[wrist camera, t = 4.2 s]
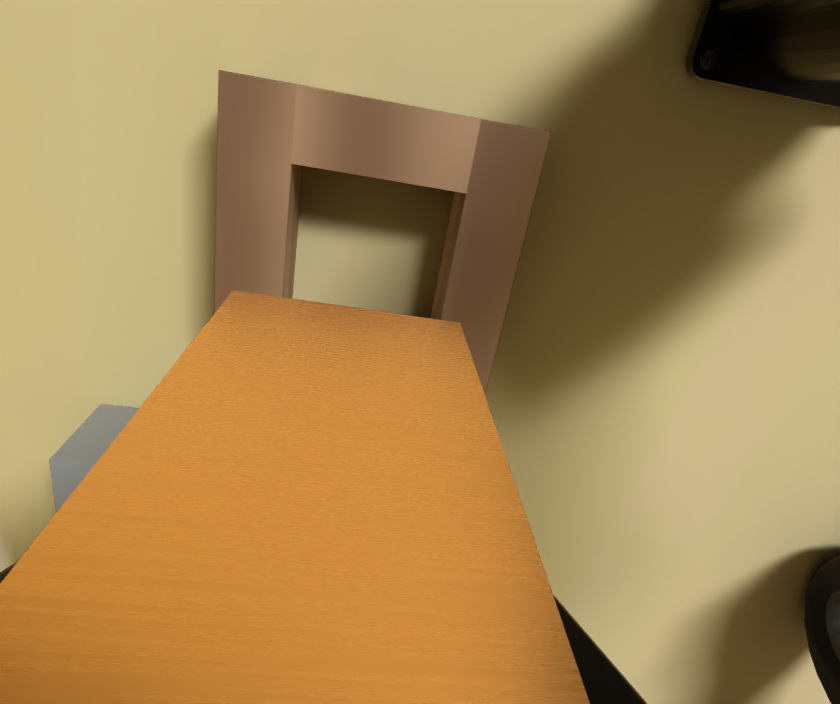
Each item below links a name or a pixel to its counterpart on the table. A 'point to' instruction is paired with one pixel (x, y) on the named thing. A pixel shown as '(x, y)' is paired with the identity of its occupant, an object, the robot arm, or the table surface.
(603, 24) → the table surface
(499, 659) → the peg
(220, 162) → the mount
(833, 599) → the controller
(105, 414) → the socket
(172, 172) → the table surface
